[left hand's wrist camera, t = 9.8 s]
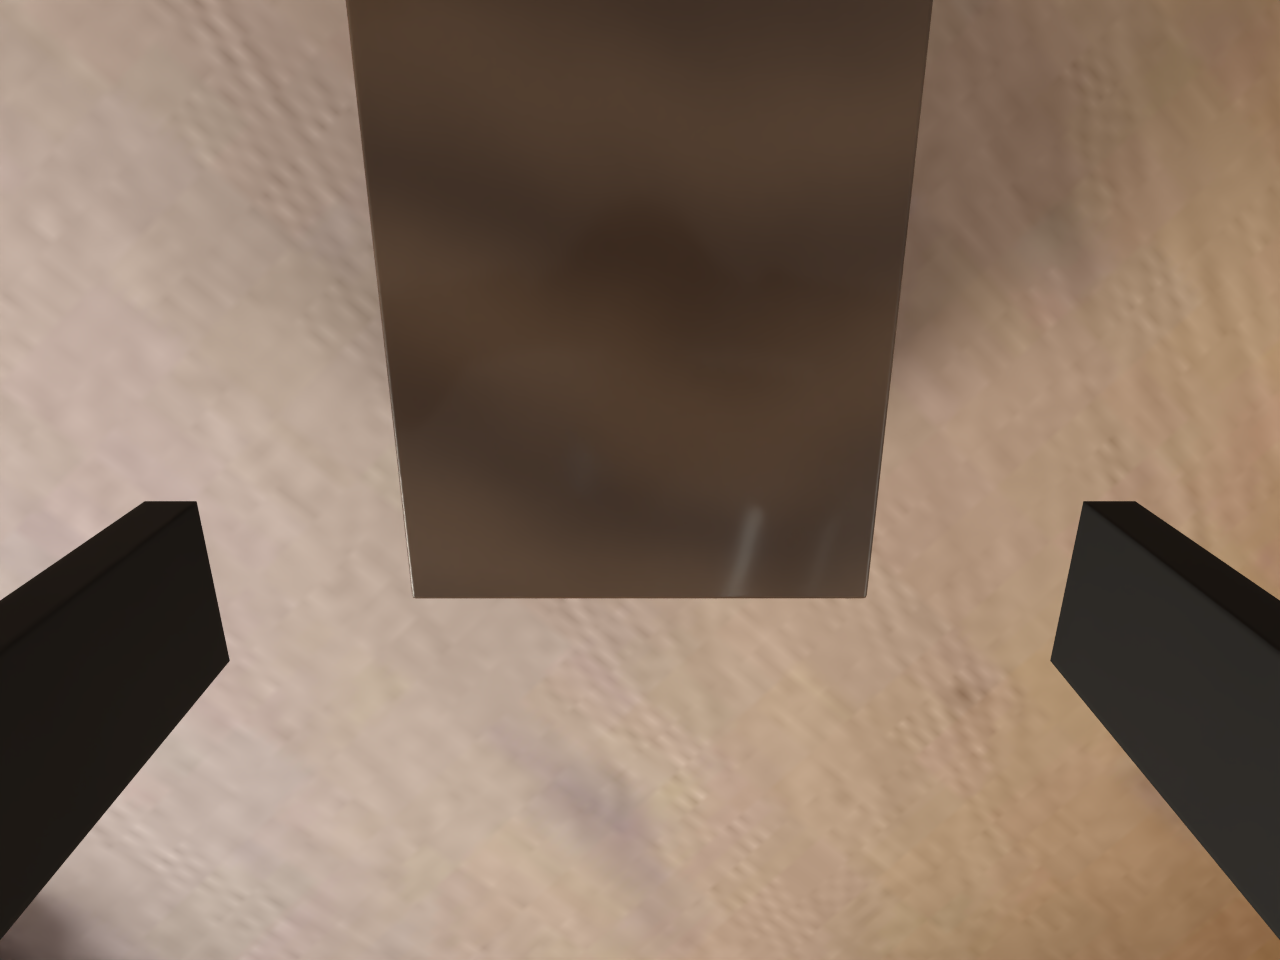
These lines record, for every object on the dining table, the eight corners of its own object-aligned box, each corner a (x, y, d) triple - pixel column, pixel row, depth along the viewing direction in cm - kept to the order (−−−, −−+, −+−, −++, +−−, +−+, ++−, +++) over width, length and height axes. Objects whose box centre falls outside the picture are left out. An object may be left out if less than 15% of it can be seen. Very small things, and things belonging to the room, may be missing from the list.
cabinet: (448, -127, 23) (306, -341, 13) (830, -127, 23) (972, -341, 13) (488, 451, 29) (411, 599, 19) (790, 451, 29) (867, 599, 19)
